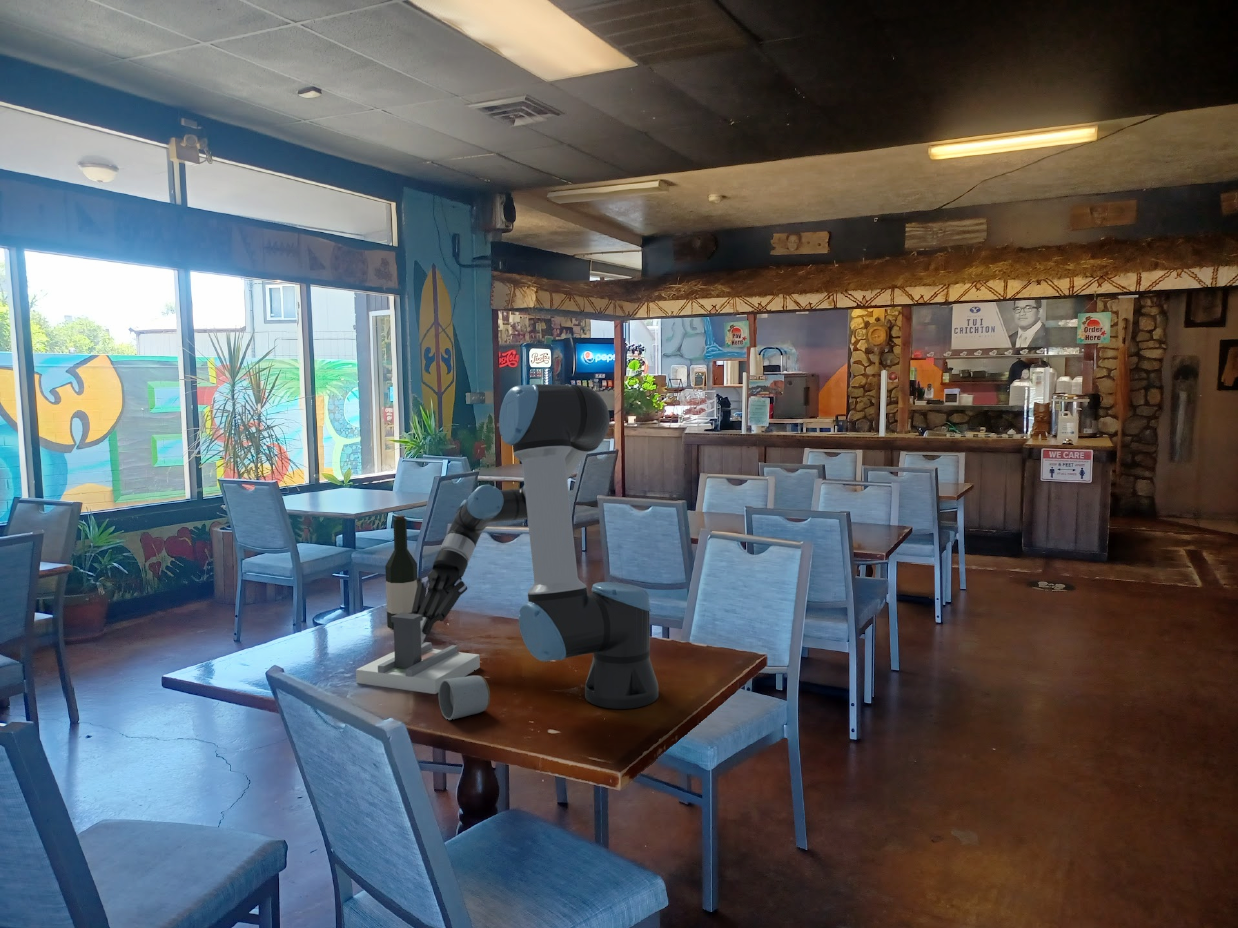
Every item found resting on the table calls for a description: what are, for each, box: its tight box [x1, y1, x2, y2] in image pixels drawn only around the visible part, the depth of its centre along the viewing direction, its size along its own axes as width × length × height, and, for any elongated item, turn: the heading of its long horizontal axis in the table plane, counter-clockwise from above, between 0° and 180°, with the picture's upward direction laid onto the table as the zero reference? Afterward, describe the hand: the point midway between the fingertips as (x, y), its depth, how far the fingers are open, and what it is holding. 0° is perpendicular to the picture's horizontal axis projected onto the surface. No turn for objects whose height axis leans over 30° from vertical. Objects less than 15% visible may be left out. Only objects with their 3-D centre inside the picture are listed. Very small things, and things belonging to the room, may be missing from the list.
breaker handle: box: [391, 613, 423, 669], centre depth 180 cm, size 6×4×11 cm, turn 69°
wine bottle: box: [385, 514, 419, 630], centre depth 224 cm, size 8×8×30 cm
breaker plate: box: [355, 641, 481, 695], centre depth 184 cm, size 20×18×4 cm
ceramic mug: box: [437, 675, 491, 721], centre depth 162 cm, size 11×8×8 cm
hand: (414, 645), depth 183 cm, fingers closed
